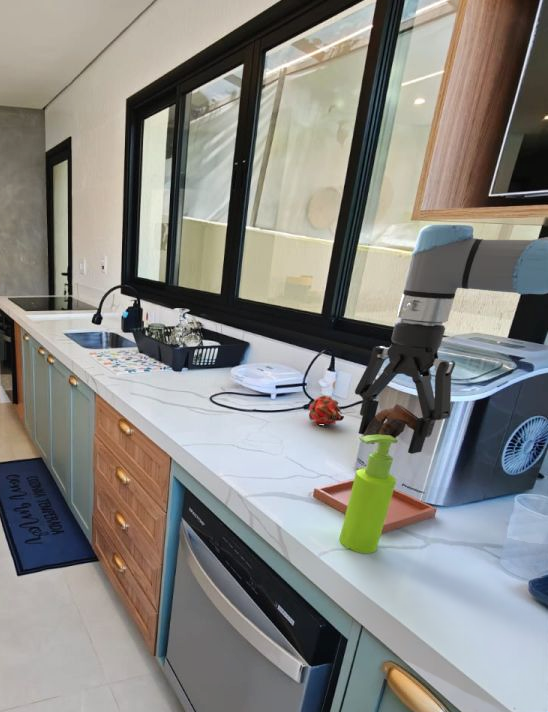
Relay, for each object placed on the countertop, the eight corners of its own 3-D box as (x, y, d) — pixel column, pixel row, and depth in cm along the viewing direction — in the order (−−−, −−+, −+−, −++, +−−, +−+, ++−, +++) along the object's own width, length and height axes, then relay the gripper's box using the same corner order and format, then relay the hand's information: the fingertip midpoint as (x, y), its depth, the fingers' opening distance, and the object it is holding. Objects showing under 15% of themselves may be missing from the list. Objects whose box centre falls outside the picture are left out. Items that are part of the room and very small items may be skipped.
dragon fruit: (315, 420, 152) (329, 440, 142) (296, 404, 150) (309, 424, 140) (338, 401, 149) (354, 420, 138) (319, 384, 146) (333, 402, 136)
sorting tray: (434, 516, 97) (437, 508, 96) (381, 534, 90) (383, 525, 90) (363, 482, 110) (365, 475, 109) (312, 496, 103) (314, 488, 103)
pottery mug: (363, 431, 102) (394, 399, 99) (404, 463, 98) (437, 431, 95) (353, 432, 92) (387, 397, 89) (397, 468, 88) (435, 433, 85)
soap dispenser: (327, 535, 90) (352, 430, 82) (363, 533, 90) (391, 429, 83) (345, 554, 84) (374, 443, 77) (384, 552, 85) (416, 443, 77)
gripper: (350, 313, 94) (326, 425, 103) (476, 334, 76) (434, 468, 84) (377, 312, 97) (351, 420, 106) (504, 332, 79) (461, 461, 88)
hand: (388, 442), depth 95 cm, fingers closed on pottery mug, 9 cm apart
